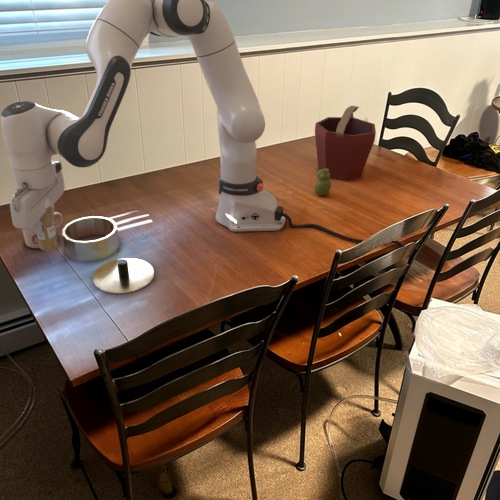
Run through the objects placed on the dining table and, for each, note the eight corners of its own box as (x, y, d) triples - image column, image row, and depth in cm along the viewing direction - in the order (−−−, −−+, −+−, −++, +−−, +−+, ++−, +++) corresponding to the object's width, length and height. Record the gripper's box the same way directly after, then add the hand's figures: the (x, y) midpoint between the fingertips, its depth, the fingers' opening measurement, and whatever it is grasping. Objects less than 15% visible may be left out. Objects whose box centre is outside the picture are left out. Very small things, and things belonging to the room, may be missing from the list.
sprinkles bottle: (60, 248, 122) (50, 200, 115) (42, 253, 120) (30, 204, 113) (55, 240, 126) (45, 193, 118) (37, 245, 123) (26, 197, 116)
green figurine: (321, 199, 170) (325, 173, 165) (310, 194, 174) (313, 168, 168) (332, 195, 174) (335, 169, 168) (321, 190, 177) (324, 164, 172)
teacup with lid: (34, 253, 136) (25, 216, 130) (18, 240, 141) (9, 204, 135) (73, 237, 143) (66, 202, 137) (57, 226, 149) (50, 192, 142)
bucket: (331, 156, 206) (339, 96, 192) (380, 169, 195) (392, 107, 182) (301, 174, 189) (307, 110, 175) (353, 190, 178) (364, 122, 165)
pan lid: (160, 263, 134) (159, 247, 131) (145, 298, 120) (144, 281, 118) (104, 259, 134) (102, 243, 132) (84, 293, 121) (81, 277, 118)
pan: (125, 237, 145) (123, 218, 141) (109, 264, 132) (107, 244, 129) (77, 233, 146) (74, 214, 142) (57, 260, 133) (53, 240, 130)
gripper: (25, 195, 103) (38, 250, 111) (64, 159, 121) (73, 209, 128) (-4, 193, 104) (11, 248, 111) (39, 158, 121) (50, 207, 128)
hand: (45, 227), depth 120 cm, fingers closed on sprinkles bottle, 4 cm apart
